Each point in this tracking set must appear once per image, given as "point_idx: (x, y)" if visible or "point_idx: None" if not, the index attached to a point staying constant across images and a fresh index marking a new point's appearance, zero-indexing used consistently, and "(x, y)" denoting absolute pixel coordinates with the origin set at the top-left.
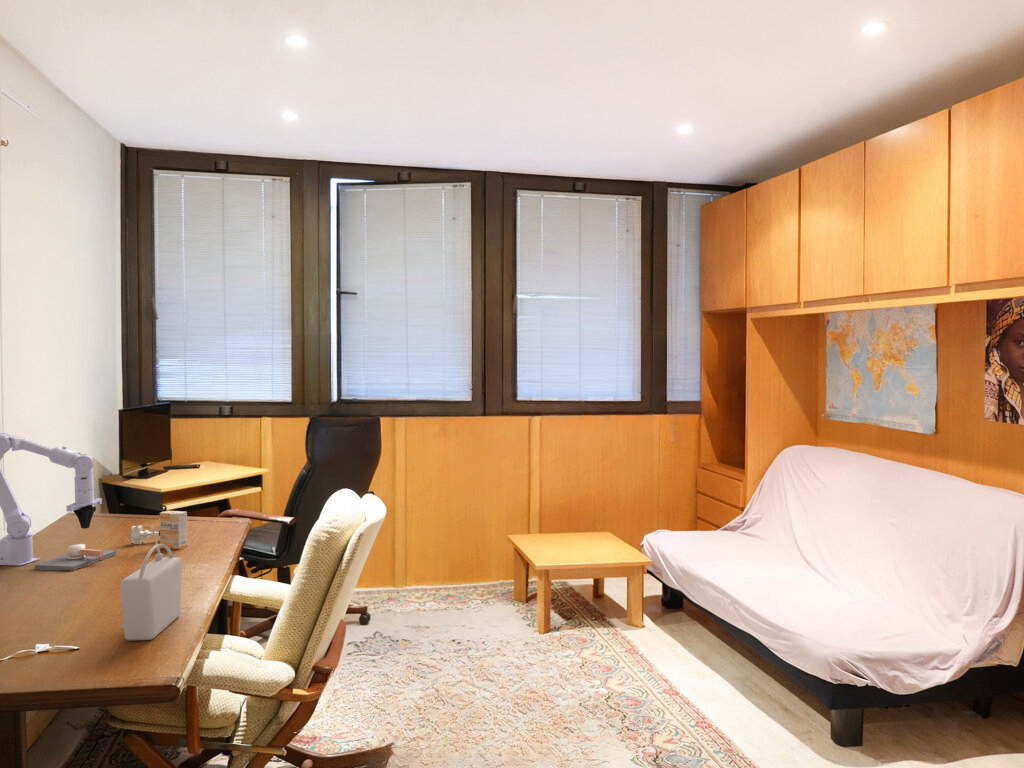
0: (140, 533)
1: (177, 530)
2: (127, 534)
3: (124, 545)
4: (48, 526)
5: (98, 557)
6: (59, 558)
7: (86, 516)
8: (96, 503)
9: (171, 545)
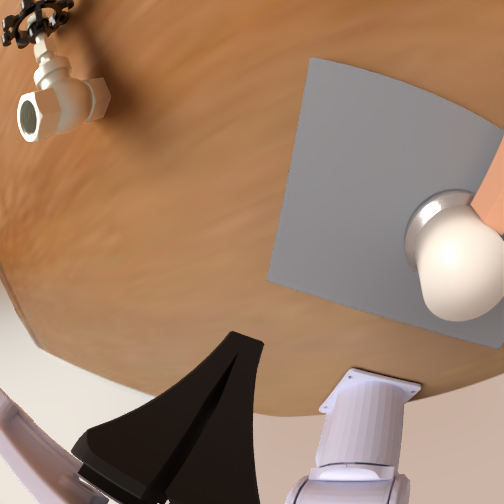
0: (59, 83)
1: None
2: (39, 214)
3: (122, 135)
4: (80, 367)
5: (473, 113)
6: None
7: (251, 450)
8: (29, 431)
9: None
